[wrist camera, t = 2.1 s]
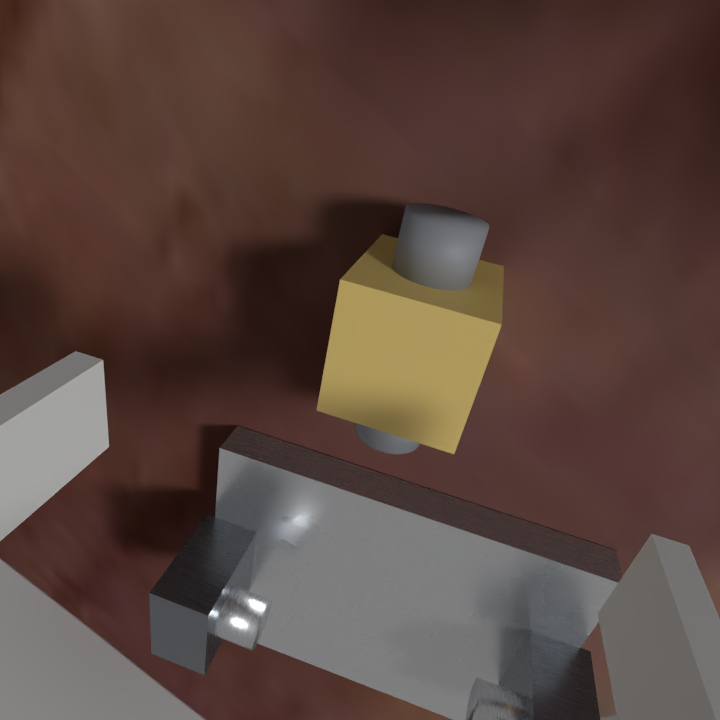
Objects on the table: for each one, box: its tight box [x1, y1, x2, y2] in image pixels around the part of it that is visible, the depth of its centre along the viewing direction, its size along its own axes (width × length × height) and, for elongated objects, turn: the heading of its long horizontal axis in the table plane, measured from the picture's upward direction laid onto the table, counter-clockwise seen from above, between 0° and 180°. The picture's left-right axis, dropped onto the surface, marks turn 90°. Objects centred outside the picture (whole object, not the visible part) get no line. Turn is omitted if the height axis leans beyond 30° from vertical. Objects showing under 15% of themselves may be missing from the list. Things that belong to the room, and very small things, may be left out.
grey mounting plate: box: [149, 426, 623, 720], centre depth 27 cm, size 21×15×7 cm
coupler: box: [317, 203, 504, 454], centre depth 19 cm, size 9×5×6 cm, turn 169°
